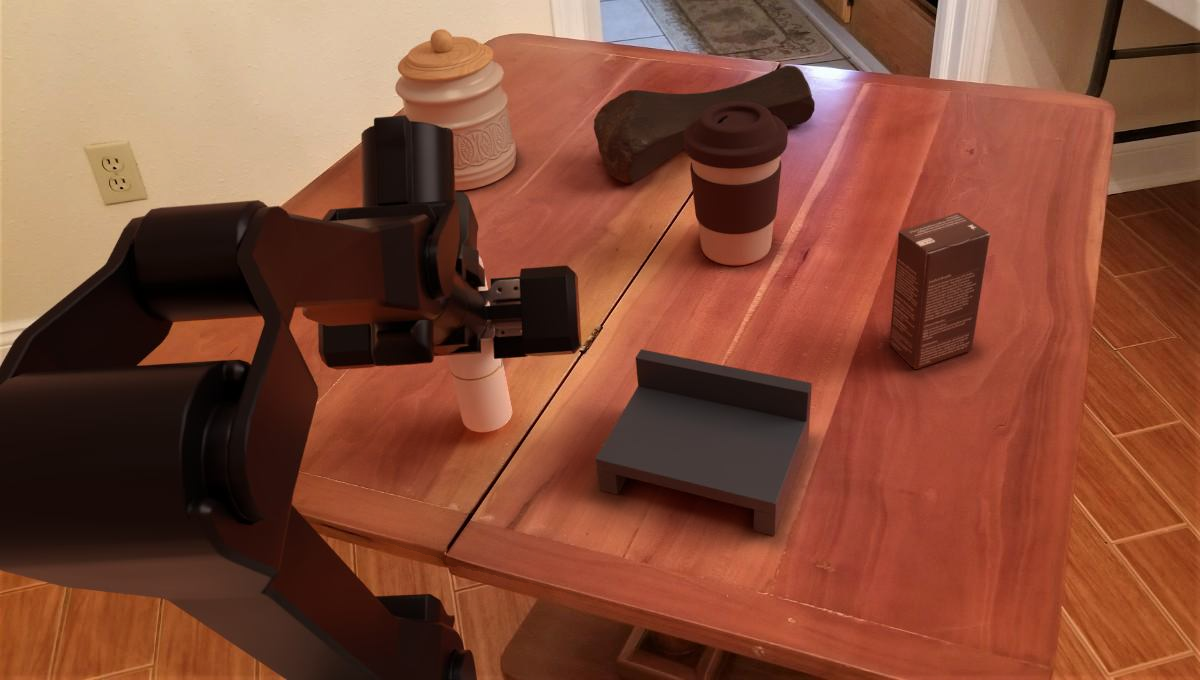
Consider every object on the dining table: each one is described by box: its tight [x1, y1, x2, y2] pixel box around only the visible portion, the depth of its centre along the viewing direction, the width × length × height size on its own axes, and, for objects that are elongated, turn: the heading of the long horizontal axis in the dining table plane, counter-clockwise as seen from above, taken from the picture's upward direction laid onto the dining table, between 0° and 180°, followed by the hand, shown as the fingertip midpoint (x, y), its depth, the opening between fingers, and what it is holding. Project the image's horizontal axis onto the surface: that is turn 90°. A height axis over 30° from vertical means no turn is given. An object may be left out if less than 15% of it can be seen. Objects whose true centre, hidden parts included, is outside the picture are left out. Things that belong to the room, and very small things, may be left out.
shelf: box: [594, 348, 813, 537], centre depth 72 cm, size 10×14×6 cm
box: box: [888, 212, 991, 370], centre depth 79 cm, size 6×4×12 cm
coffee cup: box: [684, 101, 789, 266], centre depth 94 cm, size 10×10×15 cm
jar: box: [394, 28, 517, 191], centre depth 113 cm, size 13×13×18 cm
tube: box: [446, 255, 513, 433], centre depth 75 cm, size 4×4×15 cm
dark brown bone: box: [593, 65, 816, 185], centre depth 115 cm, size 11×10×28 cm
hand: (474, 333), depth 76 cm, fingers closed on tube, 4 cm apart
